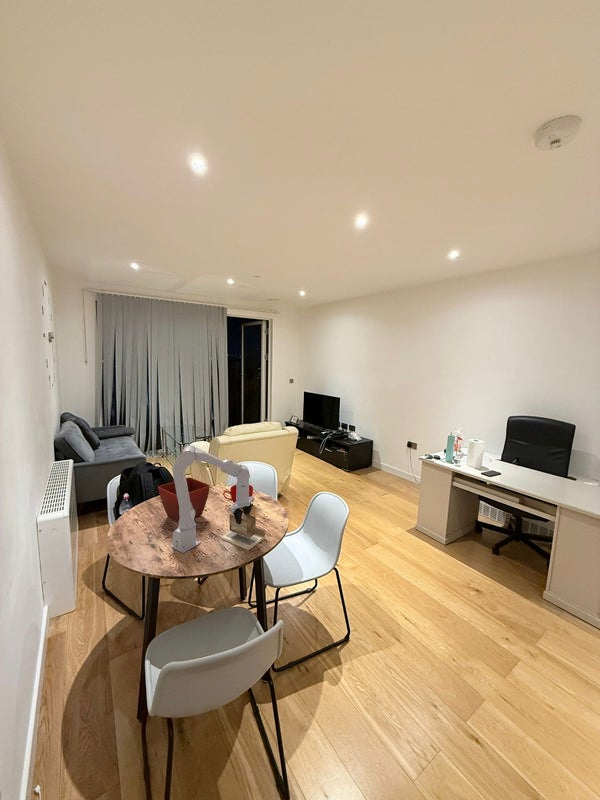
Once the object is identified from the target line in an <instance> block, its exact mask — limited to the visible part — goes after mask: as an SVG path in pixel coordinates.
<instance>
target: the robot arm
mask: <svg viewBox="0 0 600 800" xmlns="http://www.w3.org/2000/svg"><path fill="white" fill-rule="evenodd" d="M194 462H195V464H197V463H201V462H205V463H207V464H210V465H212V466H215V467H218V468H220V471H221V472H222V473H224V474H227V475H229V476H231V477H234V478H236V483H235V485H236V502H235V503H234V502H233V504H232V505H231V506H230V507H229V512H230V513H233V514H234V516H235V520H236V523H237V524H241V517H242V513H245V514H248V515H251V511H252V509H253V507H254V504H253V503H254V502H255V497H253V496H252V497H249V485H250V478H251V475H250V470H249V468H248V467H247V466H246V465H245V464H239V463H236V462H234V461H233V459H231V458H230V459H224V460H223V459H221V458H218V457H216V456H215V455H213V454H211V453H209V452H207V451H205V450H203V449H201V448H199V447H195V446H194V445H186V446H184V447H183V448H182V449H181V450H180V451H179V454H178V456H177V457H176V460H175V462H174V464H173V466H172V467H171V471H172V476H173V482H175V488H176V493H177V498H178V503H179V516H180V519H179V523H178V527H177V528H176V529H175V530H173V532H172V545H171V548H172V549H174V550H175V551H178V552H180V553H182V554H184V553H186V552H188V551H189V550H191V549H192V548H194V547H196V546H198V545H199V544H201V541H198V540H197V522H196V521H195V519H194V517H195V514H196V512H195V510H194V509H193V507H192V504H191V502H190V497H189V492H188V486H187V481H186V478H187V477H186V471H185V470H186V469H187V468H188V467H189V466H190V465H193V464H194Z"/></svg>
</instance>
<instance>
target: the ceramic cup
mask: <svg viewBox="0 0 600 800" xmlns="http://www.w3.org/2000/svg"><path fill="white" fill-rule="evenodd" d="M253 487H254V486H253V485H250V484H249V497H253V494H254V488H253ZM229 489H230V490H224V491H223V493H222V495H223V497H224V498H225V499H226V500H229V501H232V503H233V504H234V503H235V502H236V484H234V485H232V486H230V488H229ZM226 493H229V494H230V497H227V496H226V495H225V494H226Z"/></svg>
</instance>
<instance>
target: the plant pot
mask: <svg viewBox="0 0 600 800" xmlns="http://www.w3.org/2000/svg"><path fill="white" fill-rule="evenodd" d="M186 481H187V486H188V492H189V497H190V502H191V504H192V507H193V509H194V510H195V512H196V514H195V517H194V520H195V519H196V518H199V517H201V516H202V515H203V513H204V510H205V508H206V505H207V502H208V497H209V494H210V486H211V484H208V483H206V482H203V481H201V480H198V479H196V478H193V477H189V476H188V477H186ZM157 489H158V494H159V498H160V501H161V504H162V507H163V509H164V512H165V514H166V516H167V518H169V519H170V520H172V521H174V522H176V523H178V524H179V519H180V516H179V503H178V498H177V493H176V488H175V482H174V481H171V482H169V483H165V484H161V485H159V486H157Z"/></svg>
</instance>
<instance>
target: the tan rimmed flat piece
mask: <svg viewBox="0 0 600 800" xmlns="http://www.w3.org/2000/svg"><path fill="white" fill-rule="evenodd" d="M265 539H266V529H264V528H261V527H258V526H256V534H255V535H253V536H252V537H250V538H248V537H245V536H243V535H240V534H237V533H235V532H232V531H229V532H227V533H225V534H224V535H223V536H221V540H223V541H226V542H227V543H231V544H232V545H235V546H237V547H239V548H243V549H245V550H247V551H249V550H251V549H252V548H254V546H256V545H258V544H259V543H260V542H262V541H263V540H265Z"/></svg>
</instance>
